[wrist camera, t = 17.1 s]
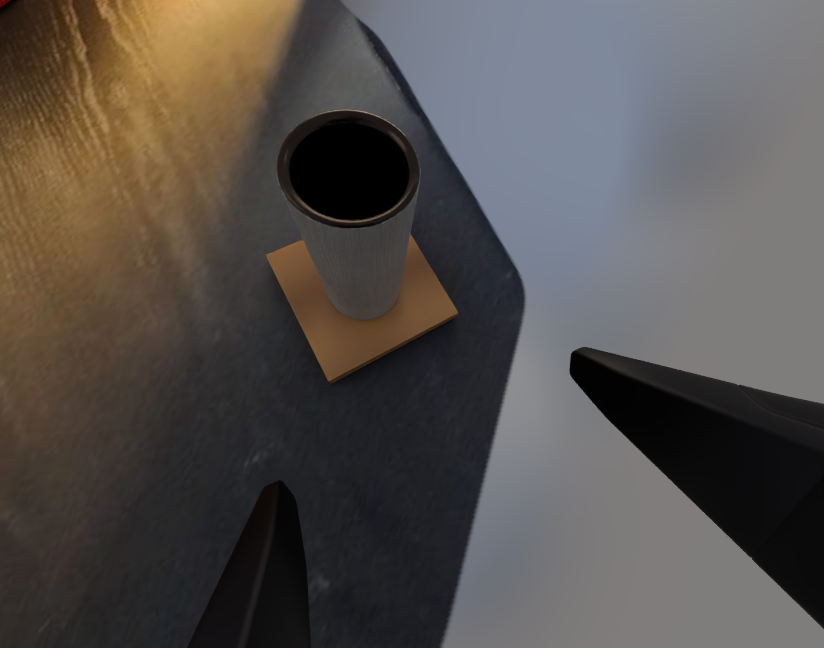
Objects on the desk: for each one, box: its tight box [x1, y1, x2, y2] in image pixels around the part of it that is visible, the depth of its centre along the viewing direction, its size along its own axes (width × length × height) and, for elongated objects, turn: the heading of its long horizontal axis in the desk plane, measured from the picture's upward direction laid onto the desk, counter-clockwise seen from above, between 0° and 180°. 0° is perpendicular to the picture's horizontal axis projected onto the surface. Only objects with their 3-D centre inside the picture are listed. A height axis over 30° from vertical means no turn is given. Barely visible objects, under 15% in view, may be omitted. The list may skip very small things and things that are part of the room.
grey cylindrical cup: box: [276, 110, 421, 320], centre depth 15 cm, size 4×4×10 cm
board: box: [266, 234, 458, 383], centre depth 20 cm, size 9×9×1 cm
